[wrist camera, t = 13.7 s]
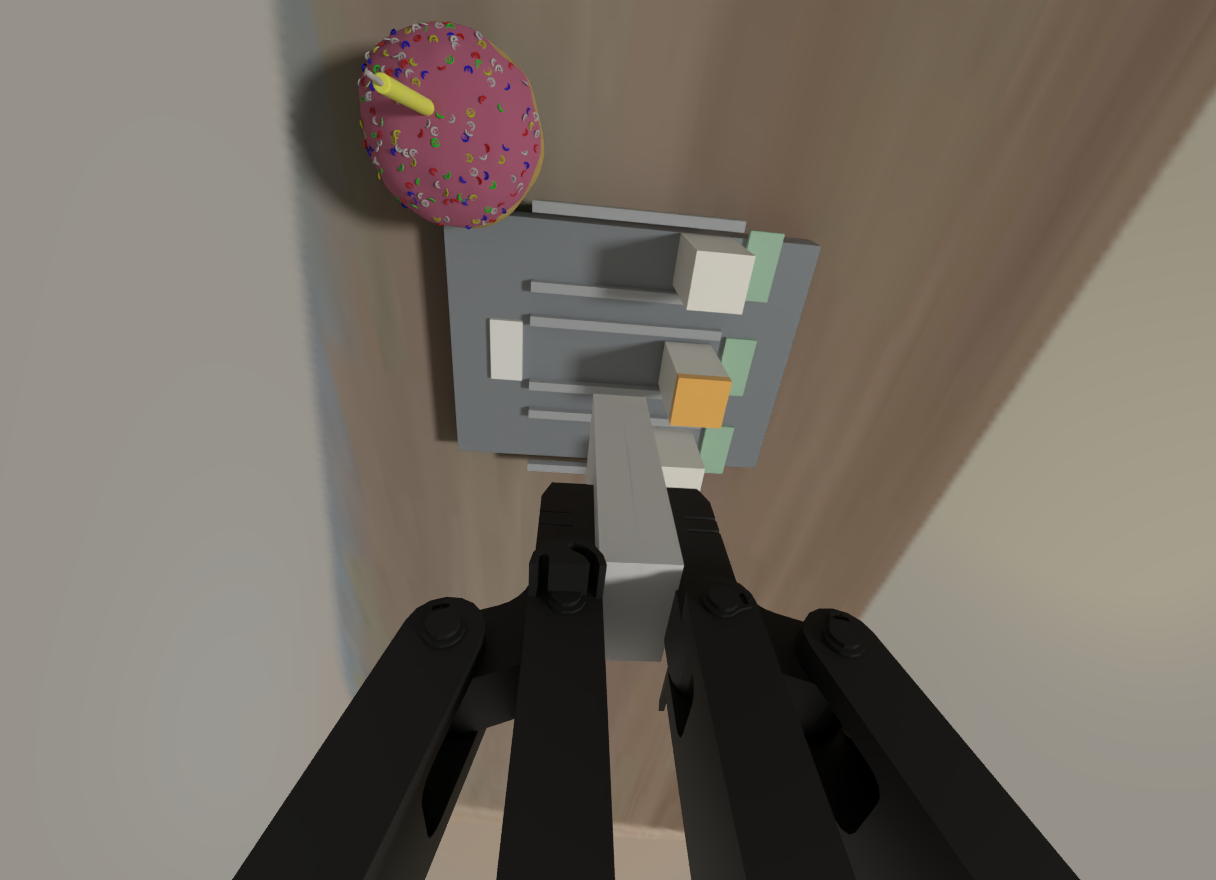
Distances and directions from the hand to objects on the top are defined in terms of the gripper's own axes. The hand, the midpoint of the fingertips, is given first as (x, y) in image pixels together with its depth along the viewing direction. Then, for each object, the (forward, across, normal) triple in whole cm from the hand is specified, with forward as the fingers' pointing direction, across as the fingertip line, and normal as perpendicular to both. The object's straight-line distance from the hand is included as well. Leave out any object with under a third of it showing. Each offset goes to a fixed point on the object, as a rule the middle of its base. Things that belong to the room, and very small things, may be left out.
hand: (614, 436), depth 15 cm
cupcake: (+21, -8, +7) cm, 23 cm away
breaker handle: (+18, +6, -5) cm, 20 cm away
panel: (+20, +2, -5) cm, 21 cm away
